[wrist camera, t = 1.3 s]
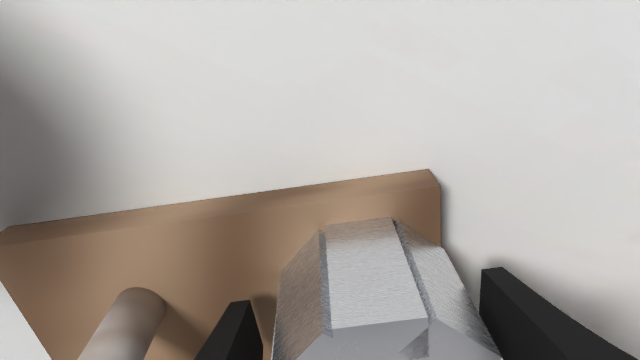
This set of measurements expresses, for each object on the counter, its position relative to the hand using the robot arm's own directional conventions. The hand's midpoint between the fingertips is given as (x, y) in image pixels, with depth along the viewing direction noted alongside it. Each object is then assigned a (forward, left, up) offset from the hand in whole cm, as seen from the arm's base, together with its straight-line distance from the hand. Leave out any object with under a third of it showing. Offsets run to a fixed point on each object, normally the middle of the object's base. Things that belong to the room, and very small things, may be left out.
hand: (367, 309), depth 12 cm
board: (+4, +2, -2) cm, 5 cm away
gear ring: (0, 0, -1) cm, 1 cm away
